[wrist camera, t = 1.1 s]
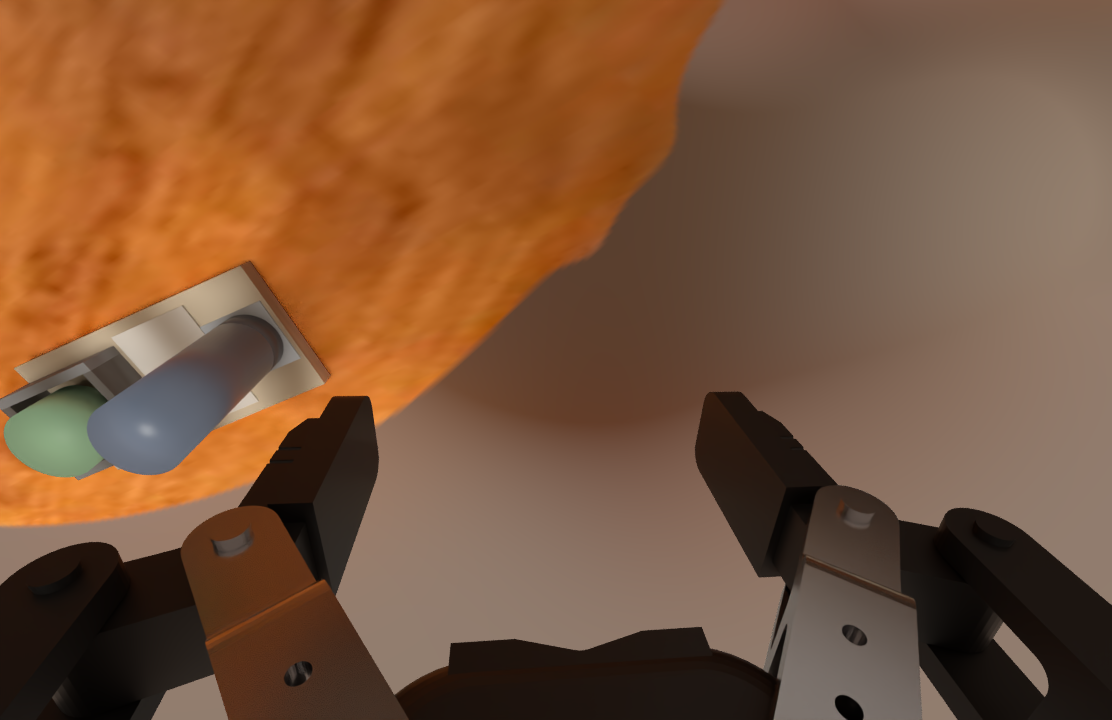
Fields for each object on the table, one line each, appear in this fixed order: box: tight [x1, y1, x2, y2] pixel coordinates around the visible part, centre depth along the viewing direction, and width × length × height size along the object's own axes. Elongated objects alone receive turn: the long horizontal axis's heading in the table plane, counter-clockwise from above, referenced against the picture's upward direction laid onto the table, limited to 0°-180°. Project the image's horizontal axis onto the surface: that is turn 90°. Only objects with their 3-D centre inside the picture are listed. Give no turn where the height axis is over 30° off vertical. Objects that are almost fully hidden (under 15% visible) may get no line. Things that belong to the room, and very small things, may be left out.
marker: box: [87, 315, 284, 475], centre depth 28 cm, size 4×4×11 cm
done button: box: [4, 385, 108, 477], centre depth 31 cm, size 5×5×3 cm
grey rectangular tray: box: [0, 261, 330, 480], centre depth 33 cm, size 17×9×4 cm, turn 112°
